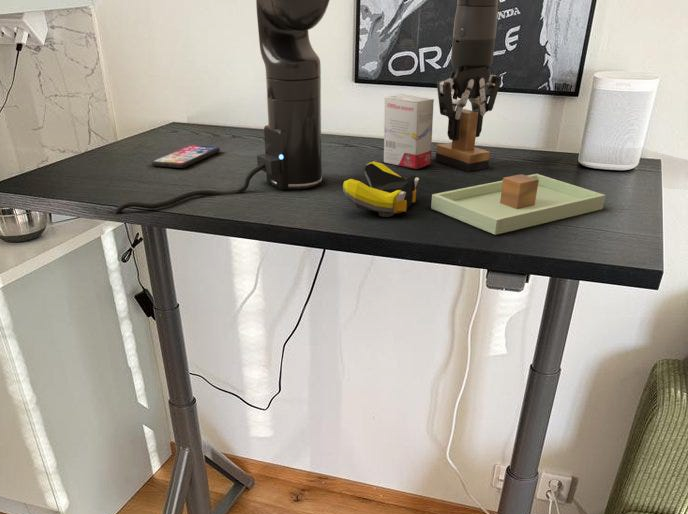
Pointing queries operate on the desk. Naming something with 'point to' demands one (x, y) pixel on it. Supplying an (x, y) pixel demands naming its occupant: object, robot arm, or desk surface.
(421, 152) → the ink box
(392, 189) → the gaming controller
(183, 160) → the smartphone
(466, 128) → the brush
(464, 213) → the tray
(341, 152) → the desk surface
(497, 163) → the desk surface
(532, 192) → the wooden block
